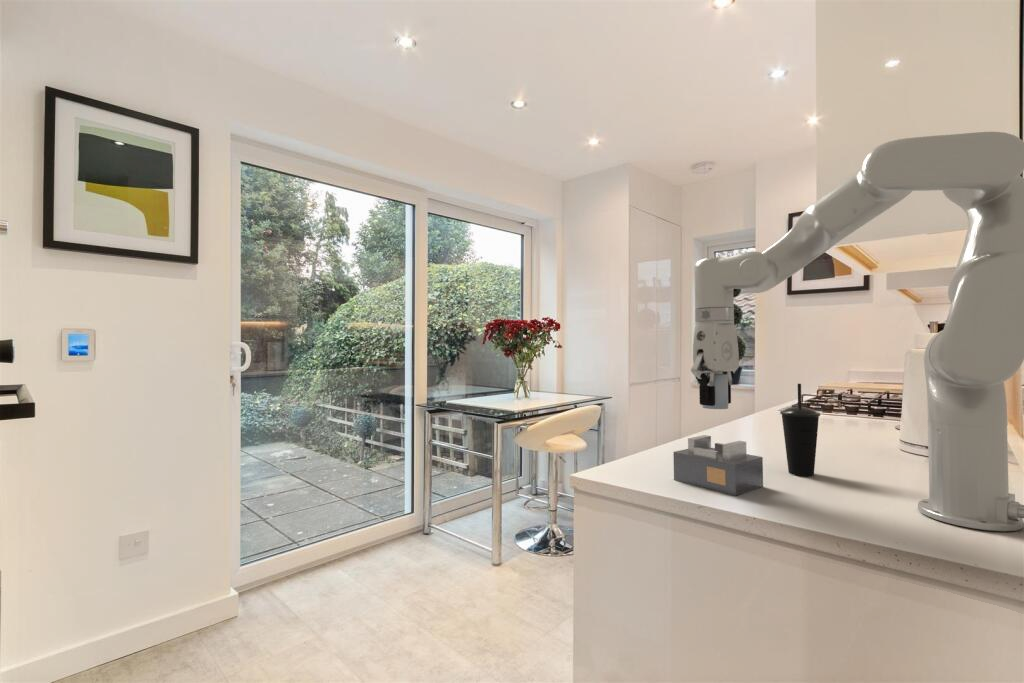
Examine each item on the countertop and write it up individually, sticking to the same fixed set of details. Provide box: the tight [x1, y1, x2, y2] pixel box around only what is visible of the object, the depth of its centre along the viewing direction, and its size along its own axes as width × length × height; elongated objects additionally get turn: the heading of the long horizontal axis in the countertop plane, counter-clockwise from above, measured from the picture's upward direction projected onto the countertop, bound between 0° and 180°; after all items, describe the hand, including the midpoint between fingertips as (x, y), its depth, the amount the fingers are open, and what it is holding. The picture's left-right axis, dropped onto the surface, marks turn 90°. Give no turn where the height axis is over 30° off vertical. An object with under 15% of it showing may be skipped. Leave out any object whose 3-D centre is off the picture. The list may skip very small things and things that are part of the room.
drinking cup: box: [779, 383, 821, 478], centre depth 107 cm, size 8×8×20 cm
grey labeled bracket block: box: [672, 434, 764, 497], centre depth 101 cm, size 14×10×9 cm
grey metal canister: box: [701, 369, 729, 410], centre depth 101 cm, size 5×5×8 cm
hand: (715, 403), depth 101 cm, fingers closed on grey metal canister, 5 cm apart
